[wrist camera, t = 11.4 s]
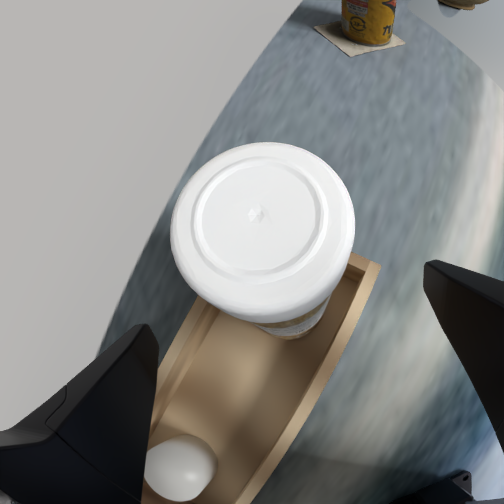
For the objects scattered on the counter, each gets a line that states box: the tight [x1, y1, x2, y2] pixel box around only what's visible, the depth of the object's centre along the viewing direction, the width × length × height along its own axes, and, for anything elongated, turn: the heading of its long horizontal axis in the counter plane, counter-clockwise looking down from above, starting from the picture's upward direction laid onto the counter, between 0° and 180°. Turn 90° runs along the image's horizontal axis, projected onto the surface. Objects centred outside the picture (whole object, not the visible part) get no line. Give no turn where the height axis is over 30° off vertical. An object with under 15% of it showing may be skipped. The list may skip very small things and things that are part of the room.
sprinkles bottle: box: [170, 142, 355, 340], centre depth 13 cm, size 5×5×14 cm
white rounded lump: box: [144, 434, 218, 501], centre depth 16 cm, size 4×4×3 cm
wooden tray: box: [143, 252, 381, 504], centre depth 17 cm, size 26×9×4 cm, turn 152°
